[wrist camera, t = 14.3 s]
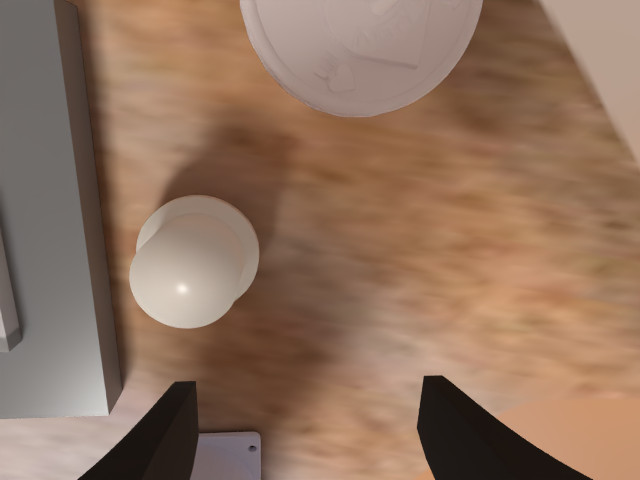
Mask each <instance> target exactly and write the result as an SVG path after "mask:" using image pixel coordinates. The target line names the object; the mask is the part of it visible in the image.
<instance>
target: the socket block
mask: <svg viewBox="0 0 640 480" xmlns="http://www.w3.org/2000/svg"><path fill="white" fill-rule="evenodd" d="M121 393H122V383H121V375H120V366H119V358H118V349H117V341H116V333H115V324H114V316H113V307H112V299H111V291H110V282H109V274H108V266H107V257H106V249H105V240H104V232H103V224H102V215H101V207H100V199H99V190H98V182H97V173H96V165H95V157H94V148H93V140H92V131H91V123H90V115H89V106H88V98H87V90H86V81H85V73H84V64H83V56H82V48H81V39H80V31H79V23H78V14H77V6H75V5H73V4H71V3H69V2H68V1H66V0H0V419H15V418H46V417H77V416H107V415H109V414H110V412H111V411H112V409H113V407H114V405H115V404H116V402H117V400H118V398H119V397H120V395H121Z"/></svg>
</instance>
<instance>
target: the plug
mask: <svg viewBox="0 0 640 480" xmlns="http://www.w3.org/2000/svg"><path fill="white" fill-rule="evenodd" d="M259 252H260V251H259V242H258V238H257V235H256V232H255V230H254V228H253V226H252V224H251V223H250V221H249V220H248V219H247V217H246V216H245V215H244V214H243V213H242V212H241V211H240V210H238V209H237V208H236V207H234V206H233V205H231V204H230V203H228V202H226V201H224V200H222V199H219V198H216V197H212V196H207V195H188V196H183V197H179V198H176V199H174V200H172V201H170V202H168V203H166V204H165V205H163V206H162V207H160V208H159V209H158V210H157V211H155V212H154V213H153V214H152V215H151V216H150V217H149V218H148V219H147V221H146V222H145V224H144V225H143V227H142V229H141V231H140V233H139V236H138V240H137V246H136V255H135V256H134V259H133V261H132V263H131V267H130V274H129V279H130V286H131V290H132V293H133V295H134V297H135V300H136V301H137V303H138V304H139V306H140V307H141V308H142V309H143V310H144V311H145V312H146V313H147V314H148V315H149V316H151V317H152V318H154V319H155V320H157V321H159V322H161V323H163V324H166V325H168V326H172V327H177V328H197V327H202V326H205V325H208V324H210V323H213V322H215V321H216V320H218V319H219V318H221V317H222V316H223V315H224V314H225V313H226V312H227V311H228V310H229V309H230V307H231V306H232V304H233V302H234V301H235V300H237V299H238V298H239V297H240V296H242V295H243V294H244V293H245V292H246V290H247V289H248V288H249V286H250V285H251V284H252V282H253V280H254V278H255V275H256V272H257V268H258V263H259Z"/></svg>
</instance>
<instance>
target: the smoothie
mask: <svg viewBox="0 0 640 480" xmlns="http://www.w3.org/2000/svg"><path fill="white" fill-rule="evenodd" d="M482 4H483V0H240V8H241V12H242V16H243V19H244V23H245V26H246V30H247V33H248V37H249V40H250V42H251V44H252V46H253V48H254V50H255V51H256V53H257V55H258V57H259V59H260V60H261V62H262V64H263V66H264V67H265V69H266V71H267V72H268V73H269V74H270V75H271V76H272V77H273V78H274V79H275V80H276V81H277V82H278V83H279V84H280V86H281V87H282V88H283V89H284V90H285V91H286V92H287V93H288V94H290V95H292V96H293V97H295V98H296V99H298V100H300V101H301V102H303V103H304V104H306V105H308V106H309V107H311V108H312V109H315V110H319V111H322V112H325V113H329V114H332V115H335V116H339V117H372V116H376V115H379V114H383V113H388V112H391V111H394V110H398V109H401V108H403V107H405V106H407V105H410V104H412V103H413V102H415V101H417V100H419V99H420V98H422V97H423V96H425V95H426V94H428V93H429V92H430V91H432V90H433V89H434V88H435V87H436V86H437V85H439V84H440V83H441V82H442V81H443V80H444V79H445V78H446V77H447V76H448V74H449V73H450V72H451V71H452V69H453V68H454V67H455V66H456V64H457V63H458V61H459V60H460V58H461V57H462V55H463V54H464V52H465V50H466V48H467V47H468V45H469V43H470V40H471V38H472V36H473V34H474V31H475V28H476V26H477V23H478V20H479V16H480V12H481V9H482Z"/></svg>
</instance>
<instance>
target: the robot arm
mask: <svg viewBox="0 0 640 480" xmlns="http://www.w3.org/2000/svg"><path fill="white" fill-rule="evenodd" d="M417 430H418V434H419V437H420V440H421V444H422V447H423V450H424V453H425V457H426V460H427V462H428V464H429V467H430V469H431V471H432V473H433V476H434V478H435V480H593V479H591V478H589V477H587V476H585V475H583V474H582V473H580V472H578V471H576V470H574V469H572V468H570V467H569V466H567V465H565V464H563V463H562V462H560V461H558V460H556V459H555V458H553V457H552V456H550V455H549V454H547V453H545V452H544V451H542V450H541V449H539V448H537V447H536V446H534V445H533V444H531V443H530V442H528V441H527V440H525V439H524V438H522V437H521V436H520V435H518V434H517V433H515V432H514V431H513V430H511V429H510V428H508V427H507V426H506V425H504V424H503V423H501V422H500V421H499V420H498V419H496V418H495V417H494V416H492V415H491V414H490V413H489V412H487V411H486V410H485V409H483V408H482V407H481V406H480V405H478V404H477V403H476V402H475V401H474V400H472V399H471V398H470V397H469V396H467V395H466V394H465V393H464V392H463V391H461V390H460V389H459V388H458V387H456V386H455V385H454V384H453V383H451V382H450V381H449V380H448V379H446V378H445V377H444V376H442V375H439V376H424V379H423V386H422V394H421V401H420V408H419V416H418V423H417ZM250 446H255V447H250ZM77 480H261V437H260V435H259V433H257V432H227V433H201V434H199V428H198V411H197V394H196V381H181V382H174V383H173V384H172V385H171V386H170V388H169V389H168V390H167V391H166V392H165V393H164V394H163V396H162V397H161V398H160V399H159V400H158V401H157V403H156V404H155V405H154V406H153V407H152V408H151V409H150V410H149V412H148V413H147V414H146V415H145V416H144V417H143V418H142V419H141V420H140V421H139V422H138V423H137V424H136V425H135V427H134V428H133V429H132V430H131V431H130V432H129V433H128V434H127V435H126V436H125V437H124V438H123V439H122V440H121V441H120V442H119V443H118V444H117V445H115V446H114V447H113V448H112V449H111V450H110V451H109V452H108V453H107V454H106V455H105V456H104V457H103V458H102V459H101V460H100V461H98V462H97V463H96V464H95V465H94V466H93V467H92V468H91V469H89V470H88V471H87V472H86V473H85V474H83V475H82V476H81V477H80V478H79V479H77Z"/></svg>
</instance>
